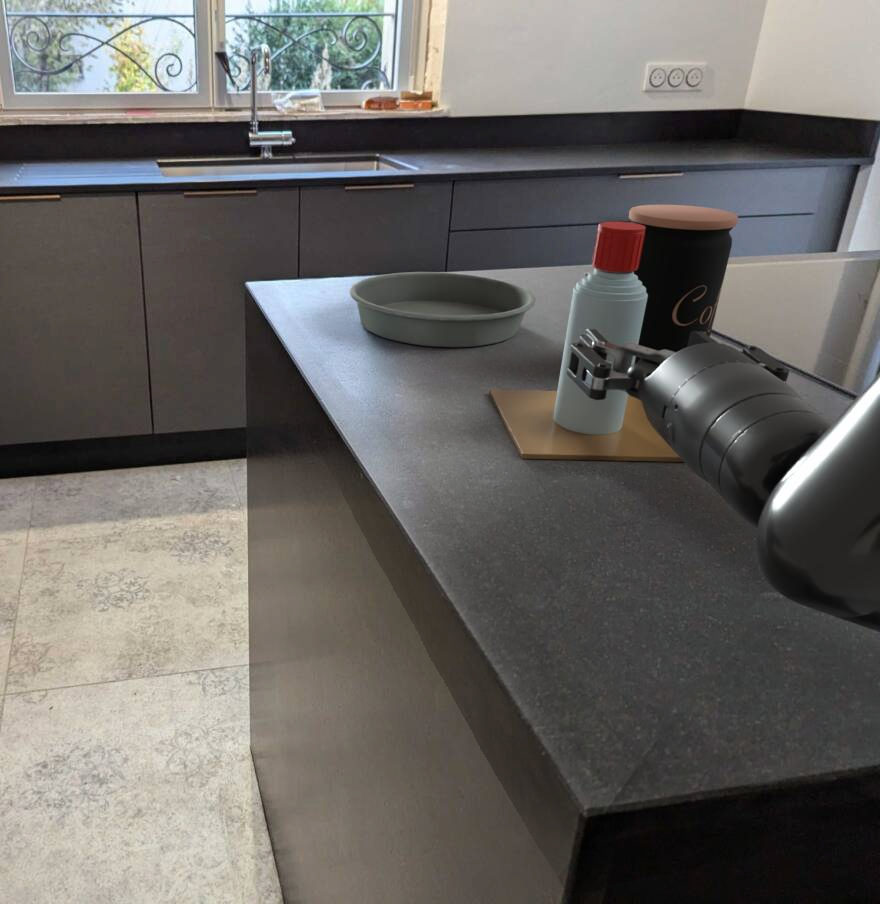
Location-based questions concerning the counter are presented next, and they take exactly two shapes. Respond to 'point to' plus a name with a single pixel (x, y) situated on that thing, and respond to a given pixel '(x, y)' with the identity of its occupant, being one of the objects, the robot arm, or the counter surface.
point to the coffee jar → (681, 270)
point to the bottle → (619, 321)
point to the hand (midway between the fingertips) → (639, 341)
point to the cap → (618, 246)
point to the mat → (548, 440)
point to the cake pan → (441, 308)
